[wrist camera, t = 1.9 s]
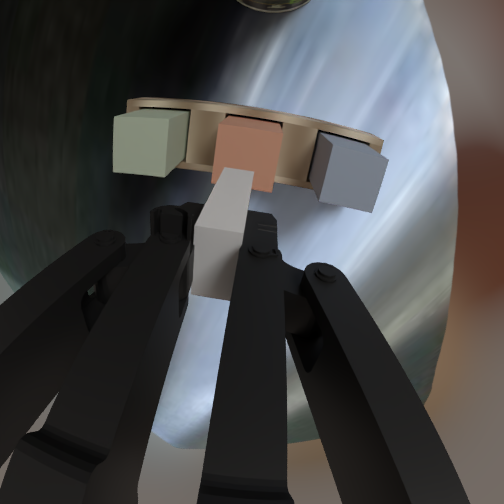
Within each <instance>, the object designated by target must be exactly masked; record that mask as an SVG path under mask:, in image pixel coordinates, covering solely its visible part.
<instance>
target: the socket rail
mask: <svg viewBox="0 0 504 504" xmlns="http://www.w3.org/2000/svg"><path fill="white" fill-rule="evenodd" d="M152 107H165V108H181V109H191V116H190V125H189V134H188V144H187V153H186V157H185V158H184V159H183V160H182V161H181V162H180V163H179V164H178V165H177V166H176V167H175V168H182V169H190V170H198V171H205V172H213V164H214V155H215V147H216V140H217V132H218V125H219V123H220V122H221V121H223V120H224V119H225V118H227V117H228V116H229V115H230V114H237V115H244V116H251V117H258V118H264V119H269V120H275V121H281V123H280V126H281V129H282V131H283V138H282V143H281V148H280V153H279V159H278V164H277V169H276V174H275V179H274V182H276V183H281V184H287V185H292V186H297V187H303V188H308V189H313V187H312V184H311V182H310V180H309V177H308V175H309V172H308V171H309V166H310V162H311V158H312V153H313V149H314V145H315V140H316V136H317V131H318V129H319V130H323V131H327V132H331V133H335V134H339V135H343V136H347V137H351V138H354V139H358V142H362V143H365V144H366V145H368V146H369V147H371V148H372V149H374V150H375V151H377V152H378V153H379V154H380V153H381V149H382V145H383V142H384V140H382V139H380V138H378V137H376V136H375V135H373V134H370V133H367V132H364V131H360V130H357V129H353V128H350V127H346V126H342V125H338V124H334V123H331V122H326V121H322V120H318V119H314V118H309V117H305V116H300V115H295V114H290V113H285V112H280V111H275V110H269V109H263V108H257V107H250V106H243V105H236V104H228V103H220V102H211V101H200V100H188V99H173V98H147V97H142V98H135V99H130V100H127V113H129V112H133V111H137V110H141V109H145V108H147V109H152ZM313 190H314V189H313Z"/></svg>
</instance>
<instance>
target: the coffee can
mask: <svg viewBox="0 0 504 504" xmlns="http://www.w3.org/2000/svg"><path fill="white" fill-rule="evenodd" d="M237 1H238V2H240V3H241V4H242V5H244V6H247V7H249V8H251V9H254V10H257V11H262V12H269V13H280V12H287V11H291V10H294V9H297V8H299V7H301V6H303V5H305V4H306V3H308V2H309V1H310V0H237Z"/></svg>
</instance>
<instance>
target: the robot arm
mask: <svg viewBox="0 0 504 504" xmlns="http://www.w3.org/2000/svg"><path fill="white" fill-rule="evenodd" d="M253 176H254V172H253V171H247V170H240V169H234V168H227V167H224V169H223V171H222V173H221V175H220V177H219V179H218V181H217V182H216V184H215V186H214V188H213V190H212V192H211V194H210V196H209V198H208V200H207V202H206V204H199V203H192V202H187V203H185V204H183V205H181V206H173V205H167V206H160V207H157V208H154V209H153V210H152V211H150V222H151V235H150V237H149V238H148V240H147V241H146V243H138V244H126V240H125V236H124V235H123V234H122V233H120V232H118V231H113V230H103V231H100V232H97V233H95V234H93V235H91V236H89V237H88V238H86V239H85V240H83V241H82V242H81V243H79V244H78V245H76V246H75V247H73V248H72V249H71V250H69V251H68V252H67V253H65V254H64V255H62V256H61V257H60V258H58V259H57V260H56V261H54V262H53V263H52V264H50V265H49V266H48V267H46V268H45V269H44V270H42V271H41V272H40V273H39V274H37V275H36V276H35V277H33V278H32V279H31V280H30V281H28V282H27V283H26V284H25V285H24V286H22V287H21V288H20V289H19V290H17V291H16V292H15V293H14V294H13V295H12V296H10V297H9V298H8V299H7V300H6V301H4V303H2V304H1V305H0V468H1V466H2V465H3V464H4V462H5V461H6V460H7V459H8V457H9V456H10V455H11V453H12V452H13V450H14V452H13V454H12V457H11V459H10V462H9V465H8V468H7V470H6V473H5V476H4V479H3V482H2V485H1V488H0V504H138V493H137V487H138V481H139V477H140V473H141V468H142V464H143V460H144V456H145V452H146V448H147V444H148V440H149V436H150V433H151V429H152V425H153V421H154V418H155V414H156V410H157V407H158V403H159V399H160V396H161V392H162V389H163V385H164V382H165V378H166V375H167V371H168V368H169V365H170V361H171V358H172V354H173V351H174V348H175V345H176V341H177V338H178V335H179V332H180V328H181V325H182V322H183V319H184V316H185V313H186V309H187V306H188V293H189V290H190V287H191V294H193V295H198V296H204V297H210V298H216V299H222V300H228V301H230V306H229V311H228V317H227V323H226V329H225V335H224V341H223V346H222V352H221V358H220V364H219V370H218V376H217V382H216V389H215V395H214V401H213V407H212V413H211V419H210V426H209V432H208V438H207V445H206V451H205V458H204V464H203V471H202V478H201V483H200V488H199V494H198V499H197V504H294V500H293V499H292V497H291V495H290V494H289V492H288V488H287V377H286V340H287V343H288V346H289V348H290V351H291V354H292V357H293V360H294V363H295V366H296V369H297V372H298V375H299V378H300V380H301V383H302V386H303V389H304V392H305V395H306V398H307V401H308V404H309V407H310V410H311V413H312V416H313V418H314V421H315V424H316V427H317V430H318V433H319V436H320V439H321V442H322V445H323V448H324V451H325V453H326V457H327V460H328V463H329V466H330V469H331V471H332V474H333V477H334V480H335V483H336V486H337V489H338V492H339V495H340V498H341V501H342V504H470V502H469V500H468V497H467V495H466V493H465V491H464V488H463V486H462V483H461V481H460V479H459V477H458V474H457V472H456V470H455V468H454V466H453V463H452V461H451V459H450V457H449V455H448V453H447V451H446V449H445V447H444V445H443V443H442V441H441V439H440V437H439V435H438V433H437V431H436V429H435V427H434V425H433V423H432V421H431V419H430V417H429V415H428V413H427V411H426V410H425V408H424V406H423V404H422V402H421V400H420V398H419V396H418V395H417V393H416V391H415V389H414V387H413V386H412V384H411V382H410V380H409V378H408V377H407V375H406V373H405V371H404V370H403V368H402V366H401V364H400V363H399V361H398V359H397V358H396V356H395V354H394V353H393V351H392V349H391V348H390V346H389V344H388V343H387V341H386V339H385V338H384V336H383V334H382V333H381V331H380V329H379V328H378V326H377V324H376V323H375V321H374V320H373V318H372V316H371V315H370V313H369V312H368V310H367V309H366V307H365V305H364V304H363V302H362V301H361V299H360V298H359V296H358V295H357V293H356V291H355V290H354V288H353V287H352V285H351V284H350V282H349V281H348V279H347V278H346V276H345V275H344V274H343V273H342V272H341V271H340V270H339V269H337V268H336V267H334V266H333V265H329V264H327V263H320V262H317V263H311V264H309V265H307V266H306V268H305V270H304V271H303V270H300V269H297V268H295V267H293V266H290V265H289V264H287V263H285V262H284V261H283V260H282V254H281V252H280V251H279V250H278V242H277V220H276V219H275V218H274V216H273V215H272V214H269V213H263V212H257V211H250V210H248V206H249V200H250V194H251V188H252V182H253ZM92 286H94V290H95V292H94V293H93V294H91V295H88V292H87V290H89V289H90V288H91V287H92ZM285 337H286V339H285ZM58 392H59V393H58ZM57 393H58V395H57ZM55 395H57V397H56V399H55V401H54V403H53V406H52V408H51V410H50V412H49V414H48V417H47V419H46V422H45V424H44V425H43V427H42V428H41V429H40V430H39V431H36V432H30V433H27V434H26V432H27V431H28V430H29V429H30V428H31V426H32V425H33V424H34V422H35V421H36V420H37V419H38V417H39V416H40V414H41V413H42V412H43V411H44V410H45V408H46V407H47V405H48V404H49V403H50V402H51V401H52V399H53V398H54V397H55Z"/></svg>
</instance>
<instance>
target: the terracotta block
mask: <svg viewBox="0 0 504 504" xmlns="http://www.w3.org/2000/svg"><path fill="white" fill-rule="evenodd" d="M282 138H283V131H282V129H281V126H280V123H276V122H270V121H264V120H258V119H252V118H245V117H238V116H231V115H229V116H228V117H227V118H225V119H224V120H223V121H221V122H220V123H219V125H218V132H217V140H216V147H215V155H214V164H213V172H212V181H211V183H213V184H216V182H217V181H218V179H219V177H220V175H221V173H222V171H223V169H224V167H227V168H234V169H240V170H247V171H253V172H254V176H253V182H252V188H251V189H253V190H259V191H265V192H270V193H272V189H273V184H274V179H275V174H276V169H277V164H278V159H279V153H280V148H281V143H282Z"/></svg>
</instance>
